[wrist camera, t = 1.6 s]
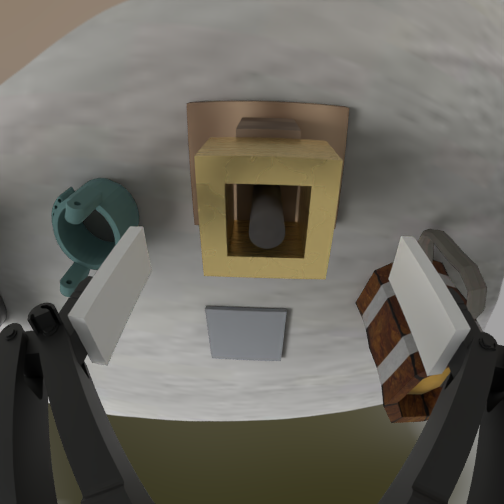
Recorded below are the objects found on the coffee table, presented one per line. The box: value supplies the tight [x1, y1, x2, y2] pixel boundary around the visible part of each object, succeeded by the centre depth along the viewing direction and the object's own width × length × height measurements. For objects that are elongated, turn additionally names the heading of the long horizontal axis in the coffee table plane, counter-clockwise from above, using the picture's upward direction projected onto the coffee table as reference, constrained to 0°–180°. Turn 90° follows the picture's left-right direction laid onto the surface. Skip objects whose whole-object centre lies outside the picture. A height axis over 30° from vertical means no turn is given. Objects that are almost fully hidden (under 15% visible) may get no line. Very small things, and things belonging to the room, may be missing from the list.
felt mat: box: [205, 306, 287, 361], centre depth 40 cm, size 10×10×1 cm
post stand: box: [187, 101, 349, 249], centre depth 22 cm, size 14×12×13 cm
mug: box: [356, 229, 487, 423], centre depth 28 cm, size 20×14×15 cm
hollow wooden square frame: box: [194, 137, 343, 279], centre depth 20 cm, size 8×8×5 cm
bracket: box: [52, 178, 139, 297], centre depth 28 cm, size 9×9×9 cm
